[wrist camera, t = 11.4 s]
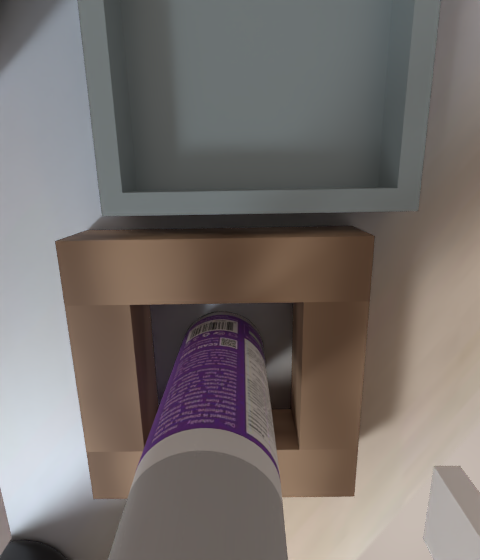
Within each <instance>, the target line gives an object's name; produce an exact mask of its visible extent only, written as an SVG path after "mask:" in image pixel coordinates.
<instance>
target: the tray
mask: <svg viewBox="0 0 480 560" xmlns="http://www.w3.org/2000/svg"><path fill="white" fill-rule="evenodd" d="M77 1H78V9H79V18H80V27H81V36H82V45H83V53H84V62H85V71H86V80H87V89H88V98H89V106H90V115H91V124H92V133H93V142H94V150H95V159H96V168H97V177H98V186H99V194H100V203H101V212H102V216H151V215H212V214H273V213H333V212H394V211H418V208H419V198H420V189H421V180H422V171H423V161H424V152H425V143H426V134H427V124H428V115H429V106H430V97H431V87H432V78H433V69H434V59H435V50H436V41H437V32H438V22H439V13H440V4H441V0H77Z"/></svg>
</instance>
